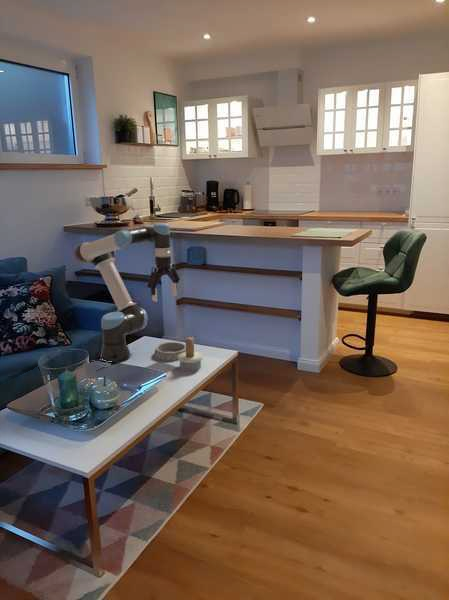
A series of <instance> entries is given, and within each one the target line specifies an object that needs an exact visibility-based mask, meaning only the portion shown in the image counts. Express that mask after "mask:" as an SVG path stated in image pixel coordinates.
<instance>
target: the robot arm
mask: <svg viewBox="0 0 449 600" xmlns="http://www.w3.org/2000/svg"><path fill="white" fill-rule="evenodd" d="M170 231H171V230H170V225H169V224H168V223H155V224H154V225H153V227H149V226H144V225H143V226H138V227H136V228H129V229H121V230H118V231H116V232H115V233H113V234H111V235H107V236H105V237H103V238H100V239H96V240H93V241H92V240H91V241H86V242H82V243H78V244H77V245H76V246H75V247H74V249H73V257H74V259H75V261H77V262H78V263H80V264H82V265H91V264H93V267H94V269H96V270H98V271H99V272H100V274H101V276H102V279H103V280H104V283H105V285H106V286H107V290H108V291H109V293H110V295H111V297H112V300H113V301H114V304H115V306H116V308H117V311H113V312H112V311H111V312H108V313H106V314H104V315H102V317H101V320H100V322H101V323H100V327H101V337H102V347H101V352H100V355H99V356H100V361H101V360H102V359H103V360H106V361H112V362H118V363H122V361H123V362H125V361H127V360H129V359H130V358H131V351H130V350H129V346H128V344H127V340H126V336H128V335H131V334H134V333H135V332H139V331H141V330H143V329H145V328H146V326H147V324H148V321H149V318H148V314H147V312H146V310H145V309H144V308H143V307H139V304H138V303H137V302H133V299H132V297H131V295H130V293H129V291H128V289H127V287H126V285H125V284H124V283H125V282H124V281H123V279H122V277H121V275H120V273H119V271H118V268H117V267H116V265H115V261H116V258H115V257H116V251H117V250H121V249H123V248H126V247H130V246H134V245H140V244H146V243H147V244H148V243H149V244H150V243H152V244H154V256H155V257H154V258H155V259H154V261H155V263H154V264H155V265H156V267H151V272H150V277H149V279H148V283H147V286H146V287H147V288H148V289H149V288H150V294H151V297H152V298H151V299H152V300H151V301H152V302H158V288H157V285H158V284H159V282H160V280H161V278H162V277H163V276H165V275H167V276H168V278H169V279H170V281H172V282H170V285H171V286H170V287H171V296H174V297H177V295H178V294H177V289H178V284H179V282H180V281H181V279H180V276H179V274H178V271H177V269H176V267H175V266H176V265H175V263H172V257H171V232H170Z"/></svg>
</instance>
